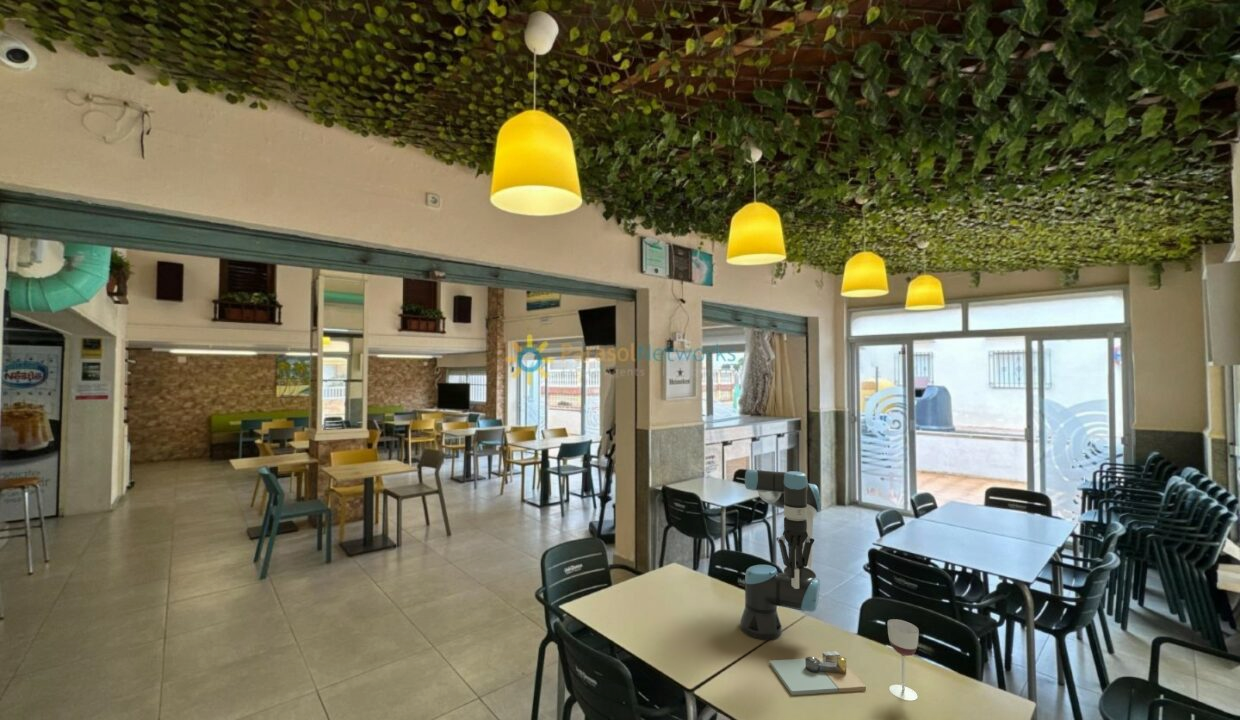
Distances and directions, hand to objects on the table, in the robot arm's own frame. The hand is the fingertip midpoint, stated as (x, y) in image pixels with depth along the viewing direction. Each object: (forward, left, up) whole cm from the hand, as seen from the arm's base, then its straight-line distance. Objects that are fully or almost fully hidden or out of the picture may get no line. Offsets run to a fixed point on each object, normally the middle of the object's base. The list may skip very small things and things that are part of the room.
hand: (795, 586), depth 168 cm
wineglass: (+20, +25, -25) cm, 40 cm away
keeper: (+5, +10, -23) cm, 26 cm away
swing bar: (+9, +6, -23) cm, 25 cm away
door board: (+10, +2, -24) cm, 26 cm away
